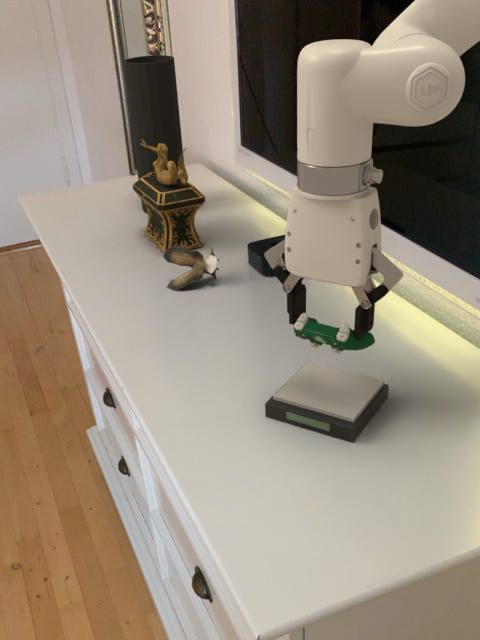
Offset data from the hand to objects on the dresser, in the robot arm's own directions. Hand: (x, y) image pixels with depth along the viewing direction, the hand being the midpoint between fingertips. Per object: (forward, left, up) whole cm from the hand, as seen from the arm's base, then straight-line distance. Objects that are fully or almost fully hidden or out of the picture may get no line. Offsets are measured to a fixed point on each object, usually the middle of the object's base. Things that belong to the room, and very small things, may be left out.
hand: (329, 326), depth 83 cm
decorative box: (+52, -39, -12) cm, 66 cm away
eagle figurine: (+38, -25, -12) cm, 47 cm away
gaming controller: (0, 0, -3) cm, 3 cm away
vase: (+67, -56, -12) cm, 88 cm away
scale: (0, 0, -12) cm, 12 cm away
